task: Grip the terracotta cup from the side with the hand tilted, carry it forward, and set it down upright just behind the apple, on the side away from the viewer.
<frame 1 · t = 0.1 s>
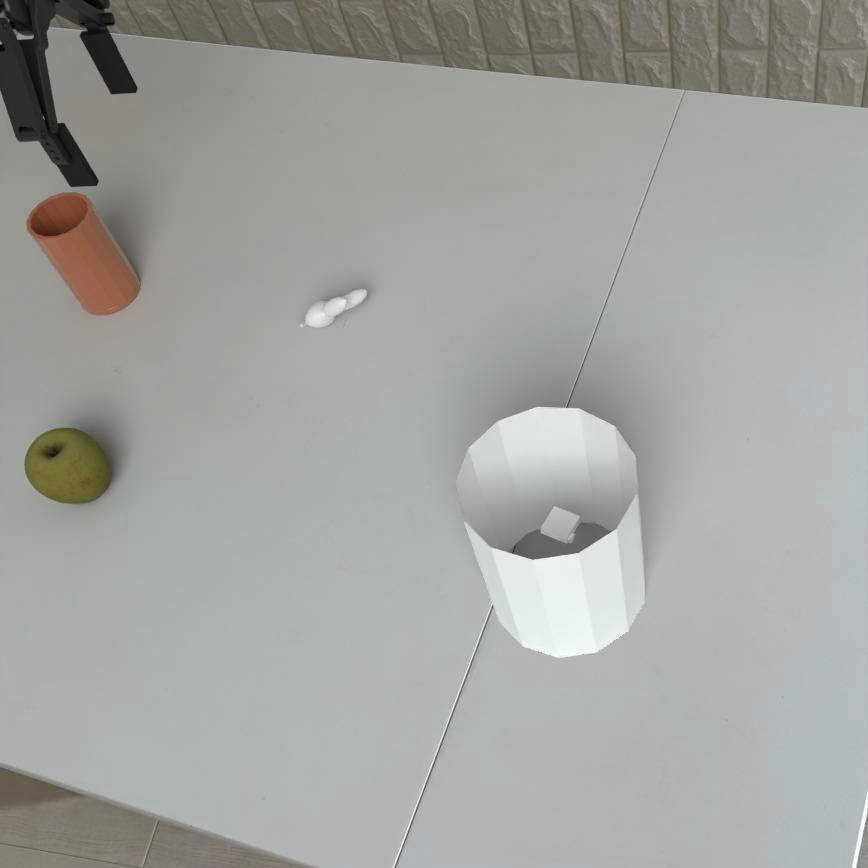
hand: (105, 136, 103), 23 cm above the table, tool pointing down, fingers open, 13 cm apart
cup: (110, 292, 126), on the table
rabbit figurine: (342, 325, 118), on the table
apple: (88, 488, 111), on the table
container: (568, 587, 98), on the table
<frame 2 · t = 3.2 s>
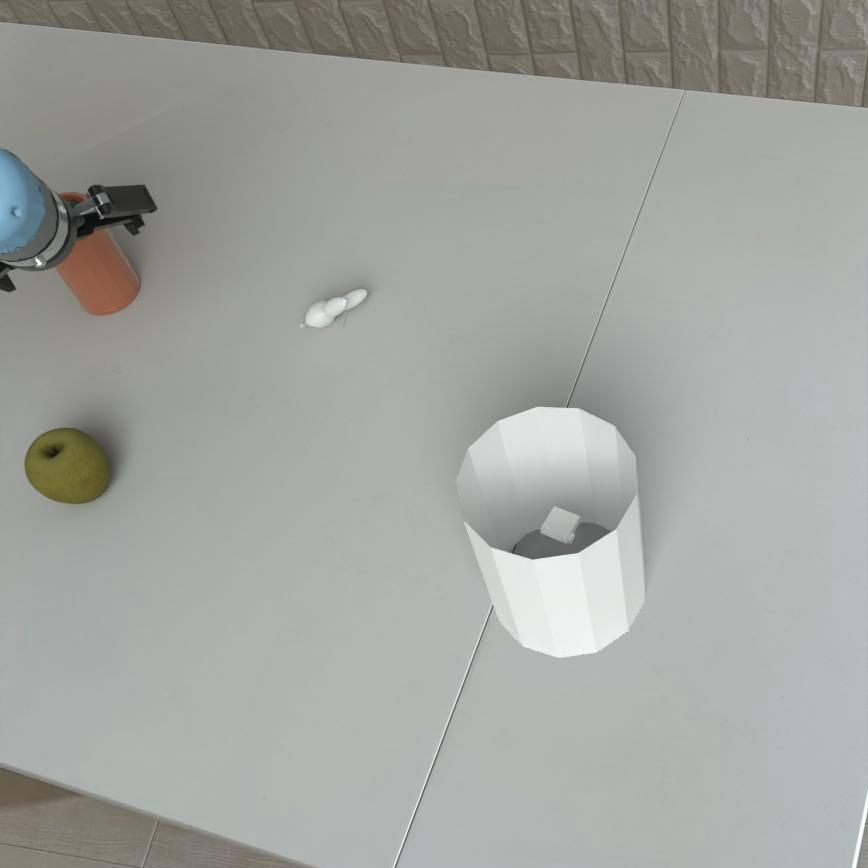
hand: (68, 250, 108), 15 cm above the table, tool tilted 45°, fingers open, 13 cm apart
nothing on the table moved.
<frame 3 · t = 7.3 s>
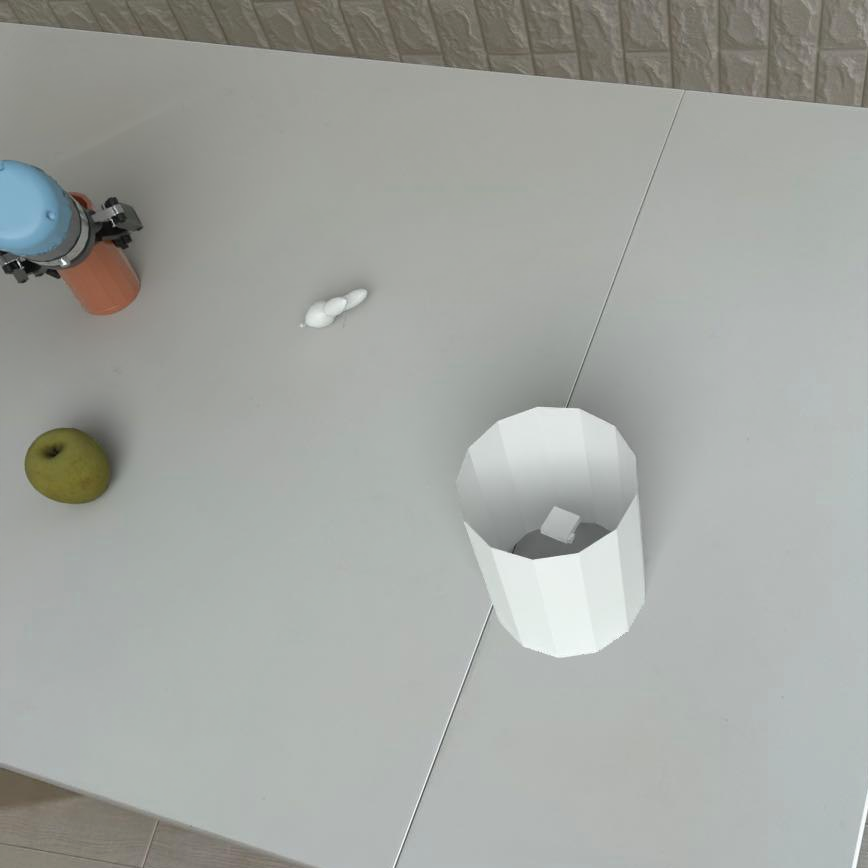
hand: (87, 252, 124), 4 cm above the table, tool tilted 45°, fingers closed on cup, 7 cm apart
cup: (110, 292, 126), on the table, touching gripper
everything else where it was.
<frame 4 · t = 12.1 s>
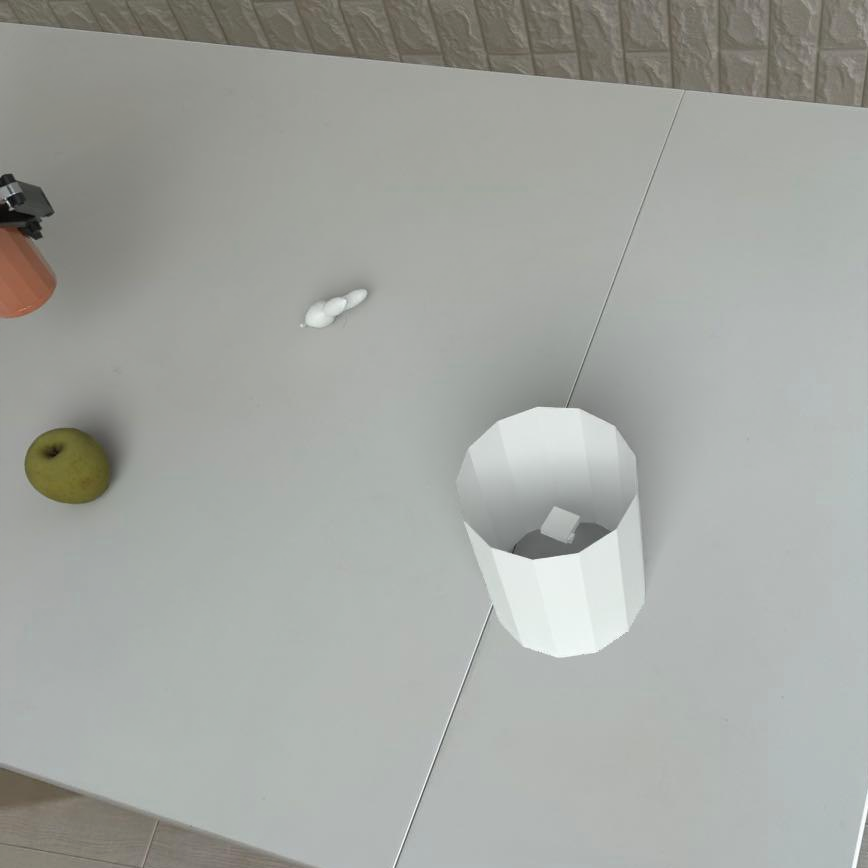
cup: (21, 291, 106), point 15 cm above the table, touching gripper
everything else where it was.
when the fingers open (4 cm above the table, at t = 16.7 s): cup stays where it is, on the table.
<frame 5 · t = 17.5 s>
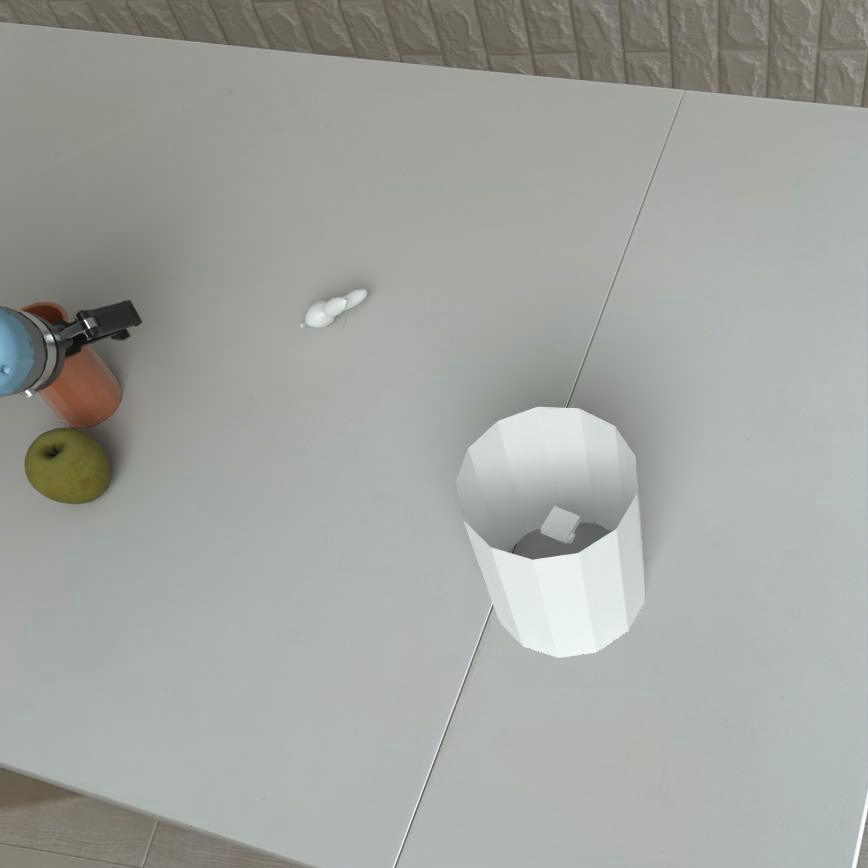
hand: (58, 354, 113), 6 cm above the table, tool tilted 45°, fingers open, 13 cm apart
cup: (90, 401, 117), on the table
everything else where it was.
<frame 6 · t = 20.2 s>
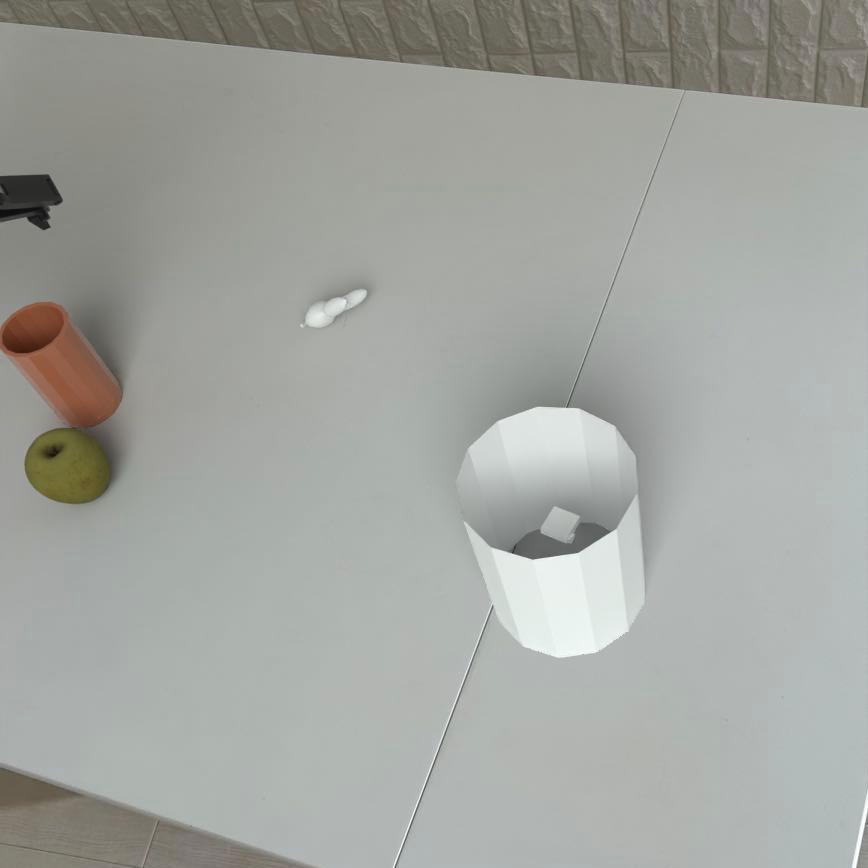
nothing on the table moved.
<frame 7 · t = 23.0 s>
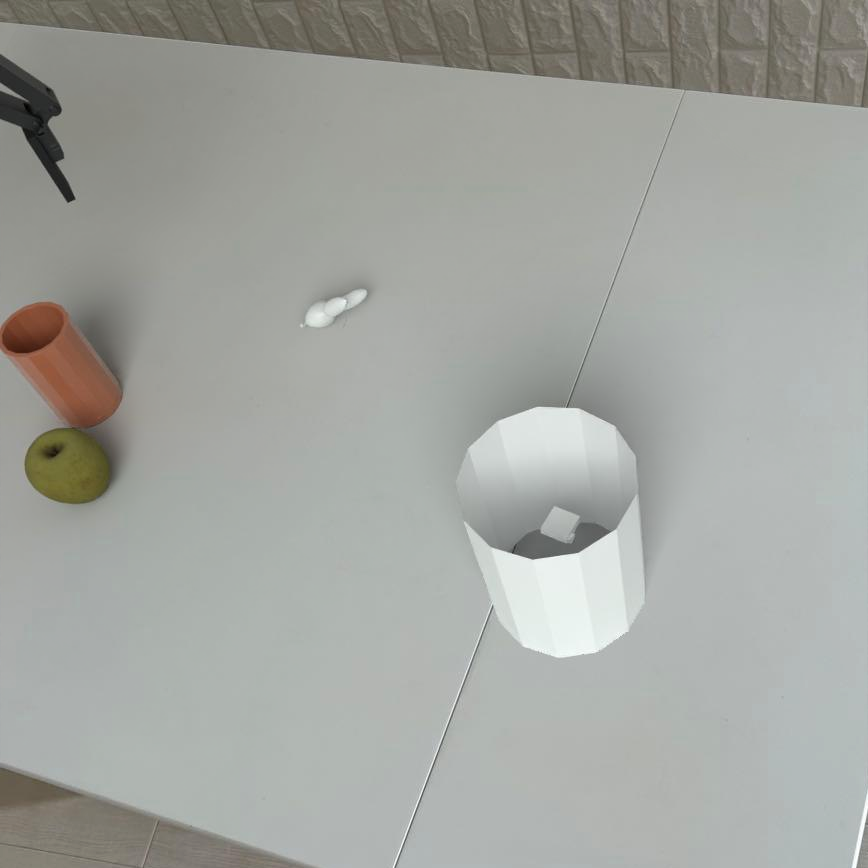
nothing on the table moved.
at the end: cup inside the target area on the table beside the apple (0.2 cm from its centre), on the table; cup tilted 0°; apple moved 0.2 cm from its start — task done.
